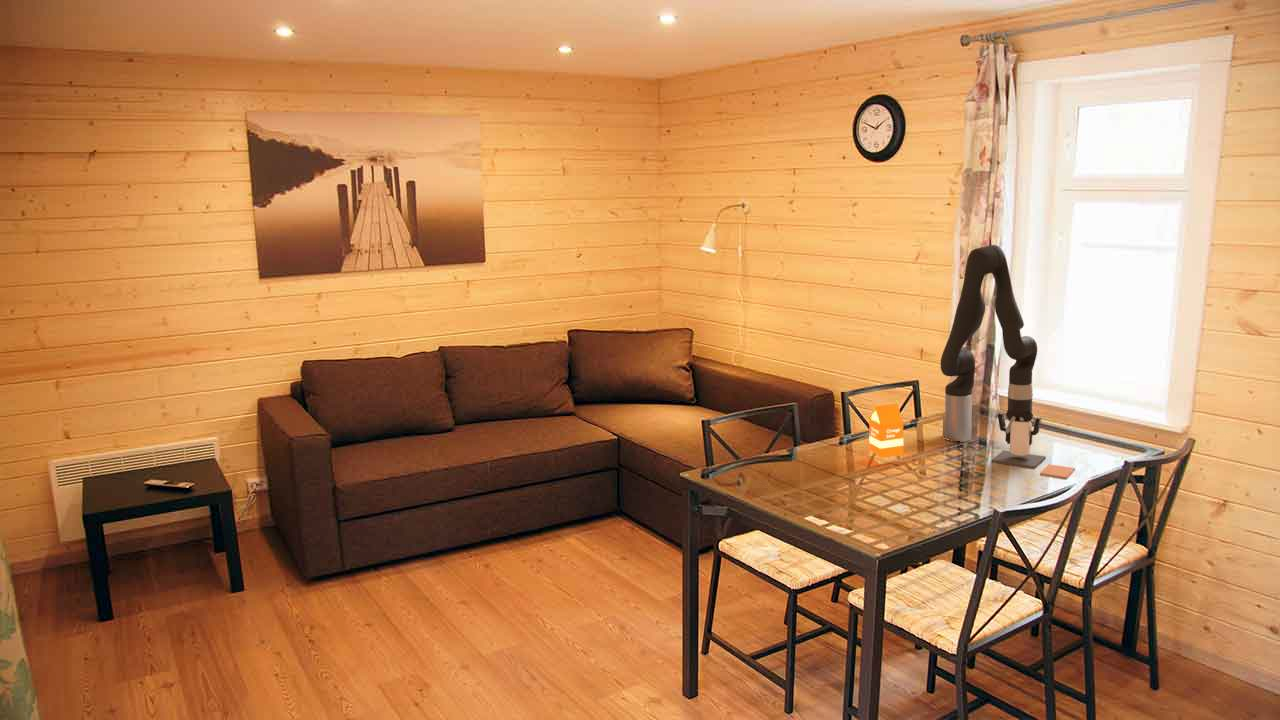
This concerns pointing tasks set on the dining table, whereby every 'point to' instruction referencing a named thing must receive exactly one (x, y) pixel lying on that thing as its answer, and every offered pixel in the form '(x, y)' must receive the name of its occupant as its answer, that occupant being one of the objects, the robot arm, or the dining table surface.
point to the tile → (1057, 471)
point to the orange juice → (886, 431)
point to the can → (1020, 438)
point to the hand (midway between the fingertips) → (1018, 444)
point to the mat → (1019, 459)
